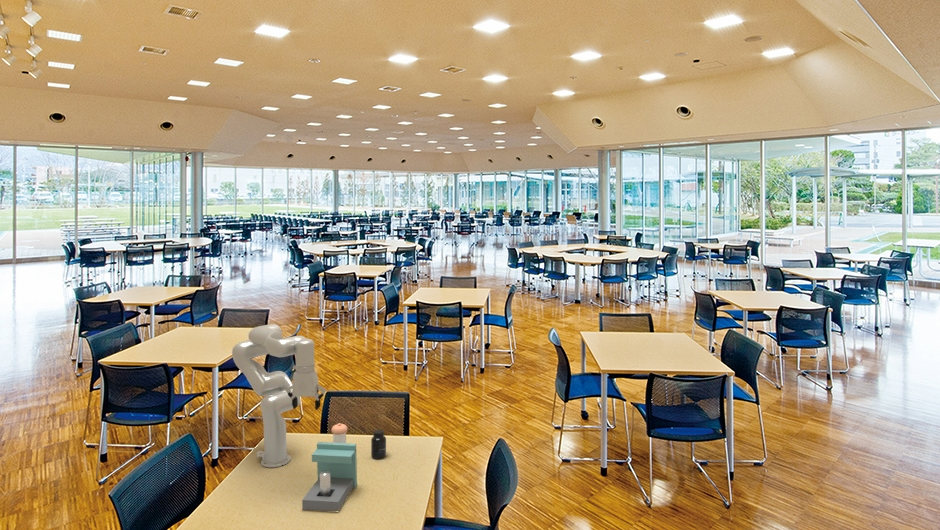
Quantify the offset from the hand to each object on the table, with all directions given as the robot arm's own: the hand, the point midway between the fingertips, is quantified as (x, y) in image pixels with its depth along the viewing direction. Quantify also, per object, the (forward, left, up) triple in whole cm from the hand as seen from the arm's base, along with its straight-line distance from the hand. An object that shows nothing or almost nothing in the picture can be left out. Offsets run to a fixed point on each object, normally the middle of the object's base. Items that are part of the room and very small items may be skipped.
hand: (306, 408), depth 226 cm
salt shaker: (+10, +12, -31) cm, 34 cm away
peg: (+15, -19, -30) cm, 39 cm away
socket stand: (+15, -15, -30) cm, 37 cm away
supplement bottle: (+25, +22, -31) cm, 45 cm away
